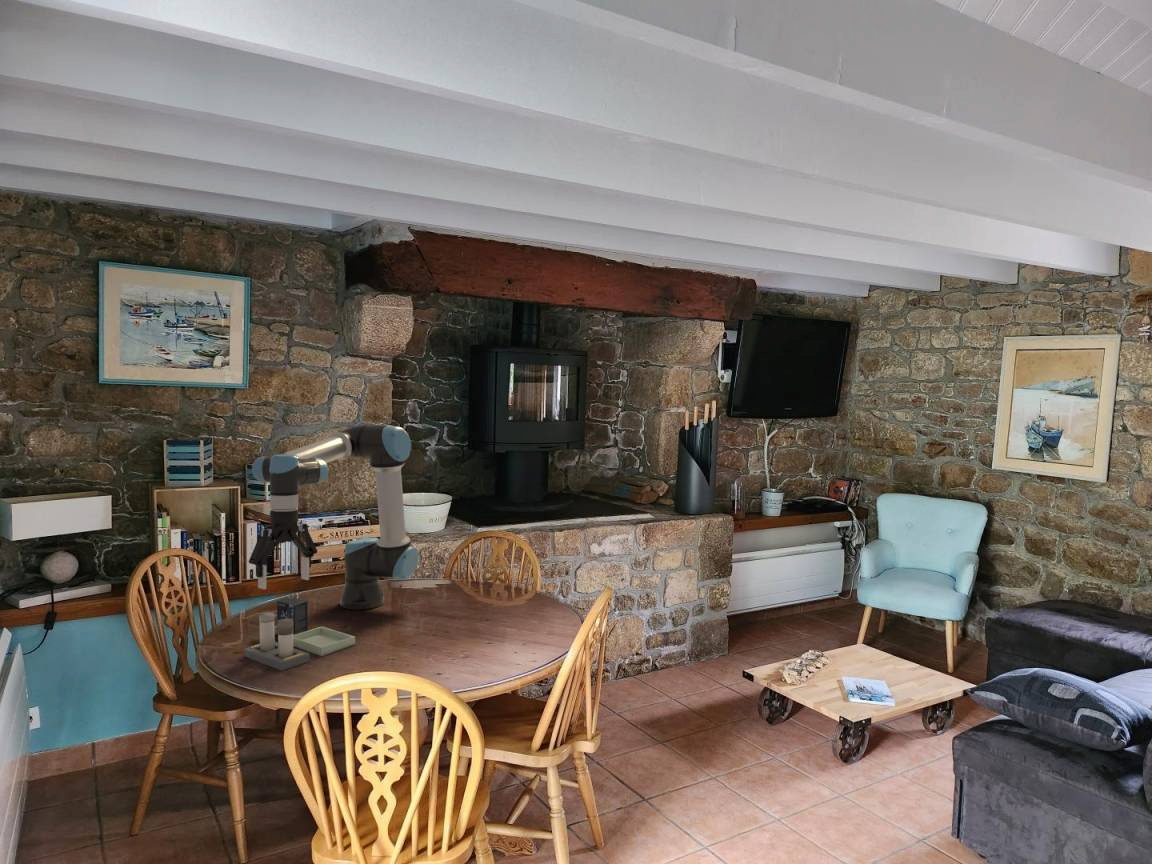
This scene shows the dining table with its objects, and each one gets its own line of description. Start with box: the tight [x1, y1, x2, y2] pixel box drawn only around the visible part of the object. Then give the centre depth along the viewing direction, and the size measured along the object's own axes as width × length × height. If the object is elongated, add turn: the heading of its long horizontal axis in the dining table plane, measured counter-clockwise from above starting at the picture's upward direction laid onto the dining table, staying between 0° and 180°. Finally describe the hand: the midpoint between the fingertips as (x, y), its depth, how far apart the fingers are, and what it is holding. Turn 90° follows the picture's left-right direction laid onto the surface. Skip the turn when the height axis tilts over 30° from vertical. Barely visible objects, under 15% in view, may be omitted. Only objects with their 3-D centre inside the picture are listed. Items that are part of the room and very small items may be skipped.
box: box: [276, 596, 309, 635], centre depth 244 cm, size 8×6×11 cm
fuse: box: [258, 612, 276, 652], centre depth 224 cm, size 4×4×12 cm
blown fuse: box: [277, 619, 294, 659], centre depth 219 cm, size 4×4×12 cm
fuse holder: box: [243, 641, 311, 672], centre depth 222 cm, size 18×9×2 cm, turn 55°
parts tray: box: [293, 626, 356, 657], centre depth 234 cm, size 16×12×2 cm
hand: (284, 583), depth 220 cm, fingers open, 13 cm apart
